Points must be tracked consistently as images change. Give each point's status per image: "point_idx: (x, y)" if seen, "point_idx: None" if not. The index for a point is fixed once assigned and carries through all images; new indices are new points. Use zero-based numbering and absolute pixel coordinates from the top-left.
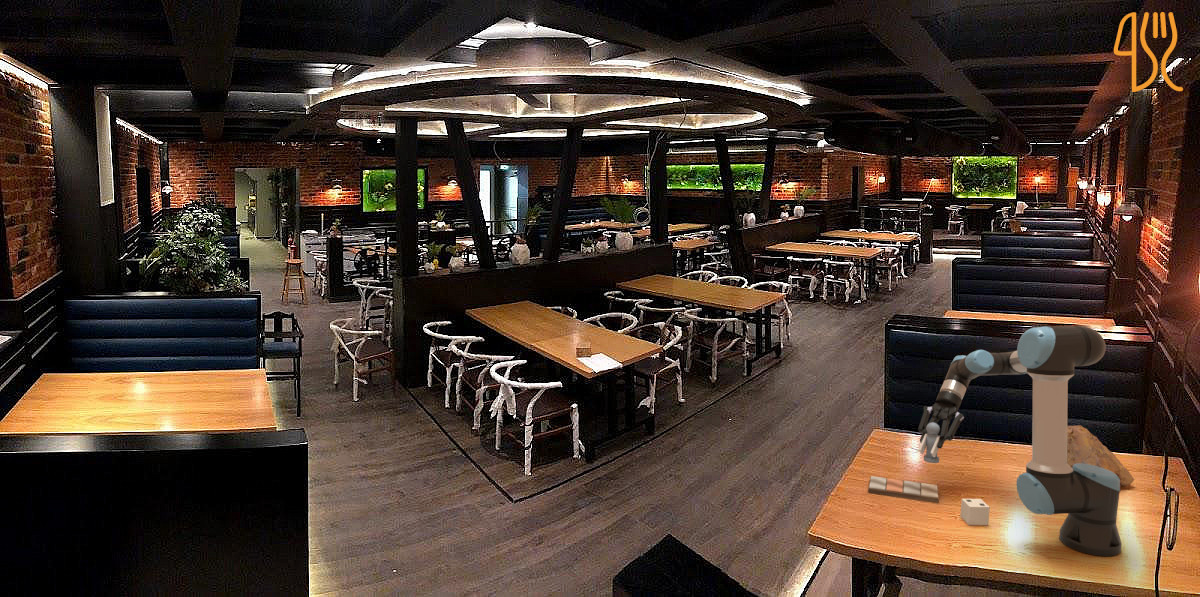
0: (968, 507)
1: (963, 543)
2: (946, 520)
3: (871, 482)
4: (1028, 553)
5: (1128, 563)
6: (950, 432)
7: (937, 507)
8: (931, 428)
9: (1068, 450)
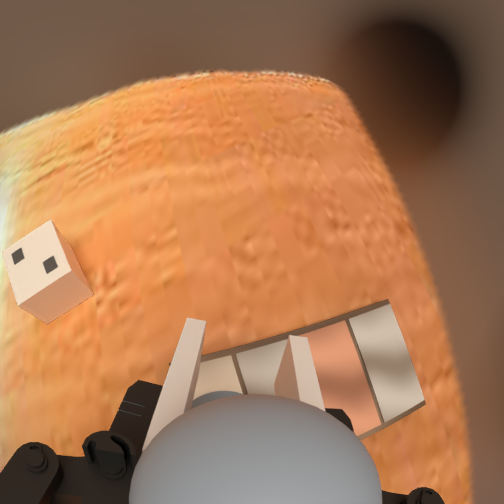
0: (55, 229)
1: (89, 155)
2: (126, 244)
3: (403, 347)
4: None
5: None
6: (4, 492)
7: (165, 325)
8: (257, 397)
9: None
